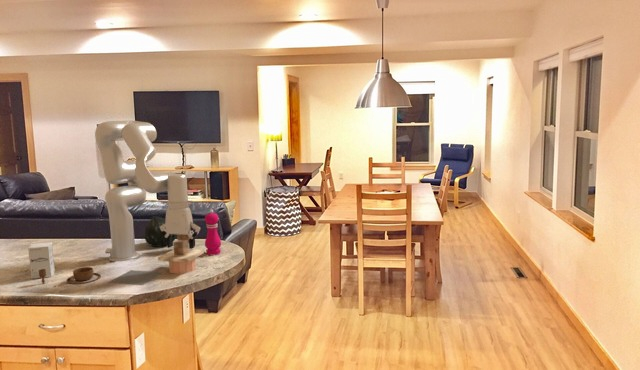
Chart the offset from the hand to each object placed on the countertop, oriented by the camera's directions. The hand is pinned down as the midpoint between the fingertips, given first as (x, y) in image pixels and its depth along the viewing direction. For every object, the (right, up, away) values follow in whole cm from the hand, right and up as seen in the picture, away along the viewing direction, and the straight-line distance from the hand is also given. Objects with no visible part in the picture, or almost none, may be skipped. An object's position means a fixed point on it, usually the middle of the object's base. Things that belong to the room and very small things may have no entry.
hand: (181, 247), depth 202 cm
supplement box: (-55, -11, 0) cm, 56 cm away
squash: (-21, -4, +43) cm, 49 cm away
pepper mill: (+7, -6, +26) cm, 28 cm away
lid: (0, -4, +1) cm, 4 cm away
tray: (-15, -11, -7) cm, 20 cm away
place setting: (-39, -13, -6) cm, 42 cm away
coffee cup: (-7, -5, +34) cm, 35 cm away
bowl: (0, -10, +1) cm, 10 cm away
